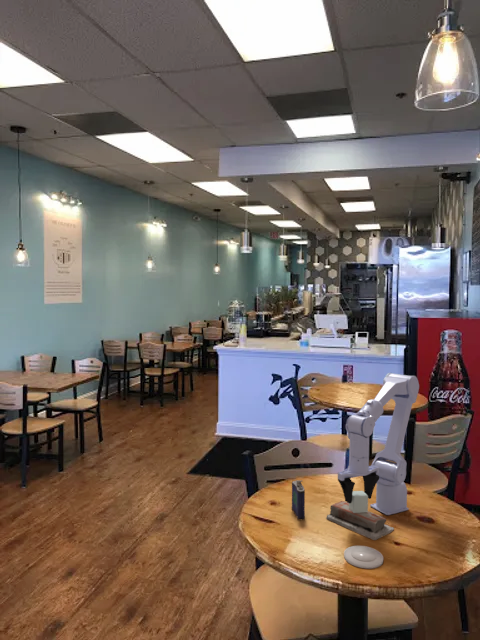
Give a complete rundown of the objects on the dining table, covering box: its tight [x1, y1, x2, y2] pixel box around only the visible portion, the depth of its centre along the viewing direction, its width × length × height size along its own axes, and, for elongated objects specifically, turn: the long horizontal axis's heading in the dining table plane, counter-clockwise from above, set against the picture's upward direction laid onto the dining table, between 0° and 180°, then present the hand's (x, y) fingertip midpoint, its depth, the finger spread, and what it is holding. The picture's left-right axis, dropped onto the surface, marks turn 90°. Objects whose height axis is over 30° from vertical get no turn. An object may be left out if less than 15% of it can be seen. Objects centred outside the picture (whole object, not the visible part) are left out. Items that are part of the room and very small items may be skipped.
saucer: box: [343, 545, 384, 570], centre depth 128 cm, size 10×10×1 cm
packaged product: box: [326, 500, 395, 541], centre depth 148 cm, size 18×5×10 cm
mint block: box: [349, 490, 369, 513], centre depth 148 cm, size 4×4×5 cm
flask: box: [291, 479, 306, 521], centre depth 155 cm, size 9×3×11 cm, turn 8°
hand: (358, 499), depth 148 cm, fingers open, 7 cm apart
